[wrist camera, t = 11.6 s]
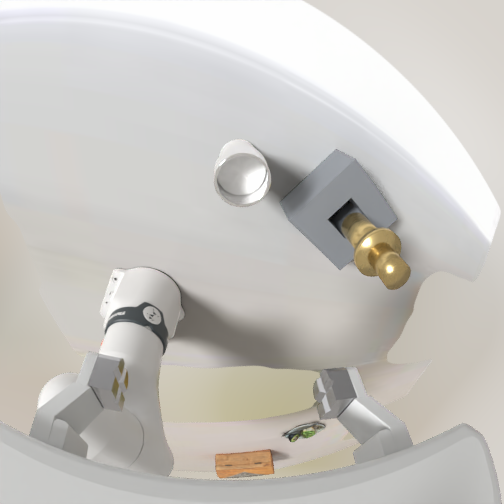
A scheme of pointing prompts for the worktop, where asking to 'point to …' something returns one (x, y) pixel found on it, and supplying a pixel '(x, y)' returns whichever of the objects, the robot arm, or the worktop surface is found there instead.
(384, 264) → the brass knob plunger
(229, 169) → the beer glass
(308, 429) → the salad plate
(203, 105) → the worktop surface
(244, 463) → the wooden box
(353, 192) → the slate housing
